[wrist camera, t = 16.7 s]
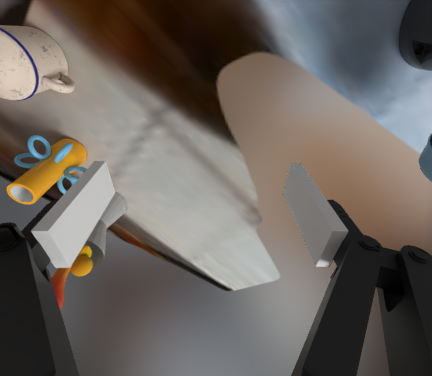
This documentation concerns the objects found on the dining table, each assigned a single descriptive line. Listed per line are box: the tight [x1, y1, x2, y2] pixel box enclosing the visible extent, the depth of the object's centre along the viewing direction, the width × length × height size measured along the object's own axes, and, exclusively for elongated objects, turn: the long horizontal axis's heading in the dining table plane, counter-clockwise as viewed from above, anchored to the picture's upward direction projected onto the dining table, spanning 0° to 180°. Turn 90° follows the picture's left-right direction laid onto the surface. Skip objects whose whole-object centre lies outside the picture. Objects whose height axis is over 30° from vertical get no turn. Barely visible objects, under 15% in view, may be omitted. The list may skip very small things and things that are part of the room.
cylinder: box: [7, 135, 87, 204], centre depth 39 cm, size 12×10×15 cm
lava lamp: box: [51, 192, 127, 309], centre depth 39 cm, size 9×9×35 cm
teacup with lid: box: [0, 25, 75, 101], centre depth 32 cm, size 12×9×12 cm
